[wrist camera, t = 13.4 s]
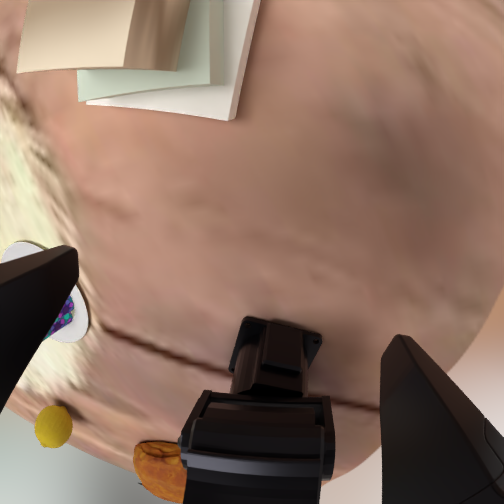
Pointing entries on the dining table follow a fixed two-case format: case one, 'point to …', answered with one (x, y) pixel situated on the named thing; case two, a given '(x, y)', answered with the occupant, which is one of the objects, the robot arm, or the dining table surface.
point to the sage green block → (189, 63)
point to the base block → (210, 97)
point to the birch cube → (102, 35)
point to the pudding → (80, 321)
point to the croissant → (161, 469)
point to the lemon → (53, 426)
